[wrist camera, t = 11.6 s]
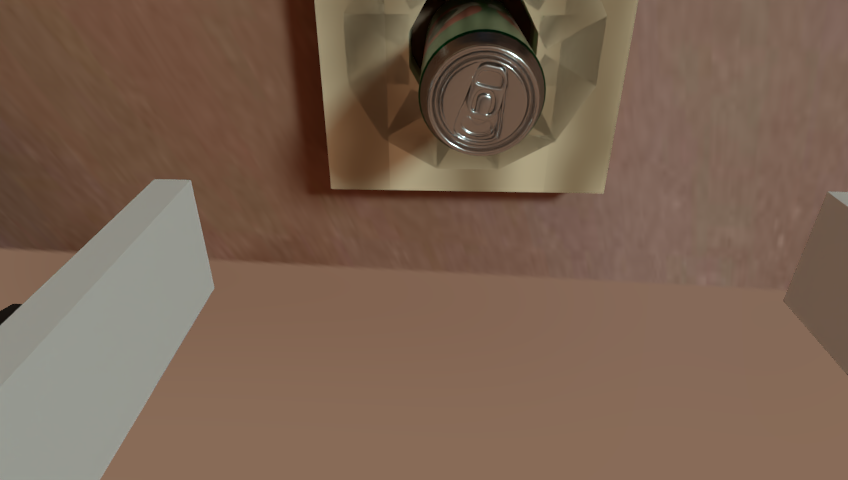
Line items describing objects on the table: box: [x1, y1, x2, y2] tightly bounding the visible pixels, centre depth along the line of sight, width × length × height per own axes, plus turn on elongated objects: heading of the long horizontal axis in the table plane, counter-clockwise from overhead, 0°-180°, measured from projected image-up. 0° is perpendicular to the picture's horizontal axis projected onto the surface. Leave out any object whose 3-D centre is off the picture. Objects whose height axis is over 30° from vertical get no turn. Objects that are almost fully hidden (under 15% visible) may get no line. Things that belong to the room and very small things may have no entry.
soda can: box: [418, 0, 546, 156], centre depth 27 cm, size 5×5×12 cm
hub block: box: [314, 0, 638, 193], centre depth 31 cm, size 16×16×3 cm
